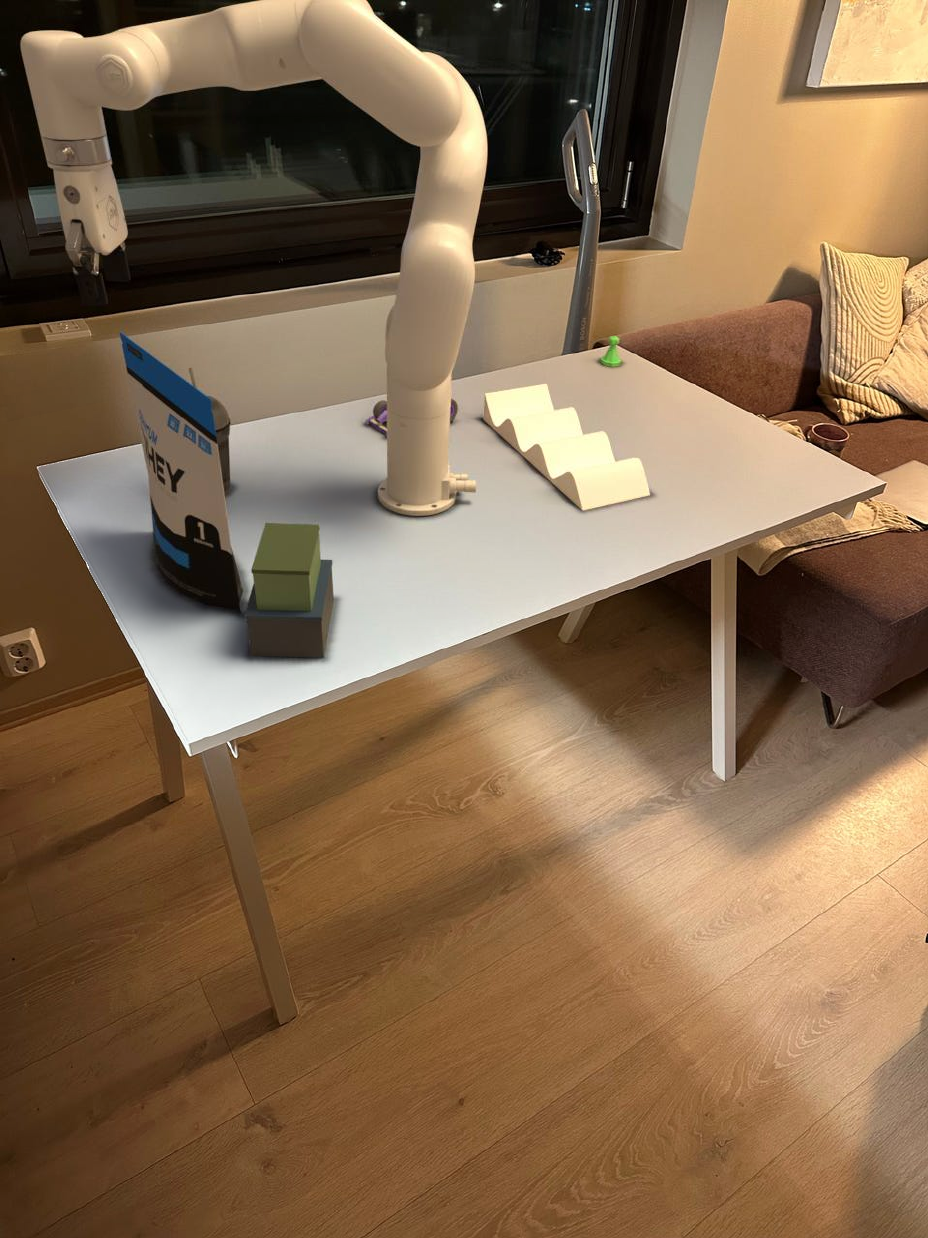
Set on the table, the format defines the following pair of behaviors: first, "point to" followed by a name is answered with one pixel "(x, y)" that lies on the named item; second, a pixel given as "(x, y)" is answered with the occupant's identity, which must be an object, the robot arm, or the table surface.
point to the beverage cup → (220, 436)
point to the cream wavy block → (564, 448)
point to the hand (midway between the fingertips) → (107, 292)
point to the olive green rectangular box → (287, 567)
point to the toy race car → (381, 414)
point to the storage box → (293, 624)
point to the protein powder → (183, 482)
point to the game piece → (611, 353)
